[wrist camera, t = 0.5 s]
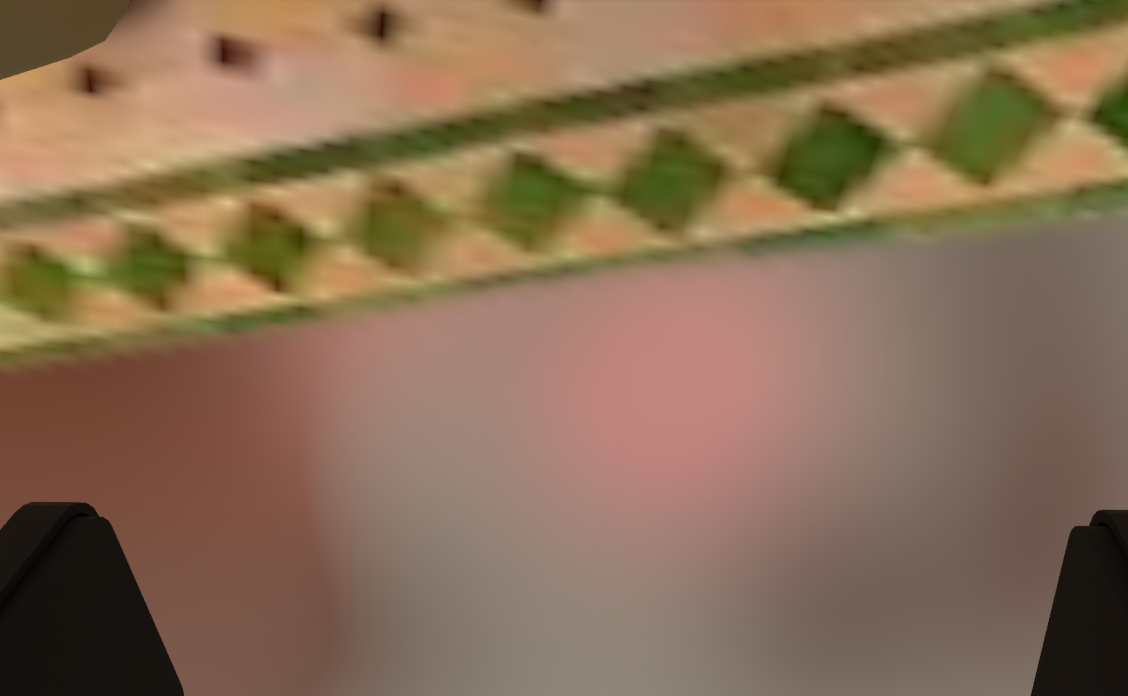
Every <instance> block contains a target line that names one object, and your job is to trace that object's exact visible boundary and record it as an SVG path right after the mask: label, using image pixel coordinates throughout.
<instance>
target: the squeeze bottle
mask: <svg viewBox="0 0 1128 696" xmlns="http://www.w3.org/2000/svg"><path fill="white" fill-rule="evenodd" d="M130 1H131V0H0V80H1V79H4V78H8V77H11V76H14V75H17V74H20V73H23V72H26V71H29V70H32V69H36V68H39V67H42V66H45V65H48V64H51V63H54V62H57V61H60V60H63V59H67V58H70V57H72V56H74V55H76V54H78V53H80V52H82V51H84V50H86V49H88V48H90V47H93V46H95V45H97V44H99V43H101V42H103V41H105V40H106V38H107V37H108V35H109V34H110V32H111V31H112V30H113V28H114V27H115V25H116V24H117V22H118V21H119V19H120V18H121V16H122V15H123V13H124V12H125V10H126V9H127V8H128V5H129V3H130Z"/></svg>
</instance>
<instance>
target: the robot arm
mask: <svg viewBox="0 0 1128 696" xmlns="http://www.w3.org/2000/svg"><path fill="white" fill-rule="evenodd" d="M0 696H184V692H183V688H182V685H181V683H180V681H179V678H178V676H177V674H176V671H175V669H174V667H173V665H172V662H171V660H170V658H169V655H168V653H167V651H166V649H165V646H164V644H163V642H162V639H161V637H160V635H159V633H158V630H157V628H156V626H155V623H154V621H153V619H152V617H151V614H150V612H149V610H148V607H147V605H146V603H145V601H144V598H143V596H142V594H141V591H140V589H139V587H138V585H137V582H136V580H135V578H134V575H133V573H132V571H131V569H130V566H129V564H128V562H127V559H126V557H125V555H124V553H123V550H122V548H121V546H120V543H119V541H118V539H117V537H116V534H115V532H114V530H113V527H112V526H111V524H110V522H109V521H108V520H107V519H105V518H104V517H99V515H98V514H97V512H96V511H95V509H94V508H93V507H92V506H90V505H89V504H87V503H80V502H31V503H28V504H26V505H24V506H22V507H21V508H20V509H19V510H17V511H16V512H15V513H14V514H13V516H12V517H11V518H10V519H9V520H8V522H7V523H6V524H5V525H4V526H3V527H2V528H1V530H0ZM1031 696H1128V510H1100V511H1097V512H1096V513H1095V514H1094V516H1093V517H1092V520H1091V522H1090V525H1089V526H1075V527H1074V528H1073V529H1072V530H1071V533H1070V535H1069V539H1068V543H1067V547H1066V551H1065V555H1064V559H1063V564H1062V568H1061V572H1060V576H1059V581H1058V584H1057V589H1056V593H1055V597H1054V601H1053V605H1052V609H1051V614H1050V618H1049V622H1048V626H1047V631H1046V635H1045V639H1044V643H1043V647H1042V651H1041V655H1040V659H1039V664H1038V668H1037V672H1036V676H1035V680H1034V685H1033V689H1032V693H1031Z"/></svg>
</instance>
